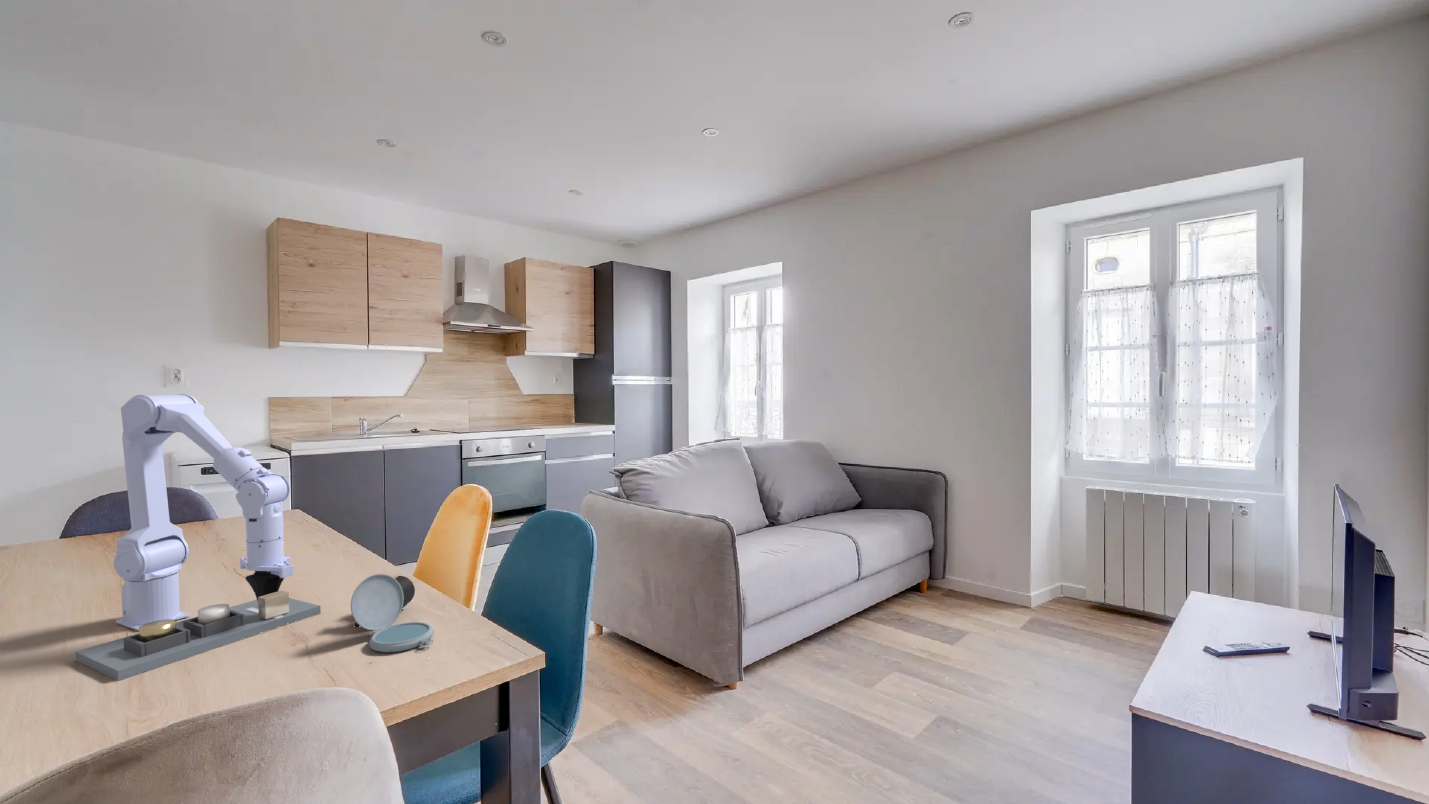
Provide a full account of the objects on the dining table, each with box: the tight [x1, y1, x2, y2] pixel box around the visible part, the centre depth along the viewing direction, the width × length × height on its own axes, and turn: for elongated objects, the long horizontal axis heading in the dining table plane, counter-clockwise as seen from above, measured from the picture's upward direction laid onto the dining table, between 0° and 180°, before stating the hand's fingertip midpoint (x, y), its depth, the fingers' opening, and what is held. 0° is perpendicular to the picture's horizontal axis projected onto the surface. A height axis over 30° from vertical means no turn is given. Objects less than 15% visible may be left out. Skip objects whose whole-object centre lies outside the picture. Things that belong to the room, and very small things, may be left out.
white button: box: [197, 603, 230, 624], centre depth 108 cm, size 4×4×2 cm
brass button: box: [138, 619, 176, 641], centre depth 101 cm, size 4×4×2 cm
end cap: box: [352, 575, 416, 628], centre depth 116 cm, size 10×7×7 cm
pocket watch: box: [350, 573, 435, 654], centre depth 105 cm, size 10×11×15 cm
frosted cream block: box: [258, 590, 290, 619], centre depth 114 cm, size 2×4×4 cm, turn 153°
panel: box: [74, 597, 322, 681], centre depth 109 cm, size 16×30×4 cm, turn 153°
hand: (267, 609), depth 115 cm, fingers closed
